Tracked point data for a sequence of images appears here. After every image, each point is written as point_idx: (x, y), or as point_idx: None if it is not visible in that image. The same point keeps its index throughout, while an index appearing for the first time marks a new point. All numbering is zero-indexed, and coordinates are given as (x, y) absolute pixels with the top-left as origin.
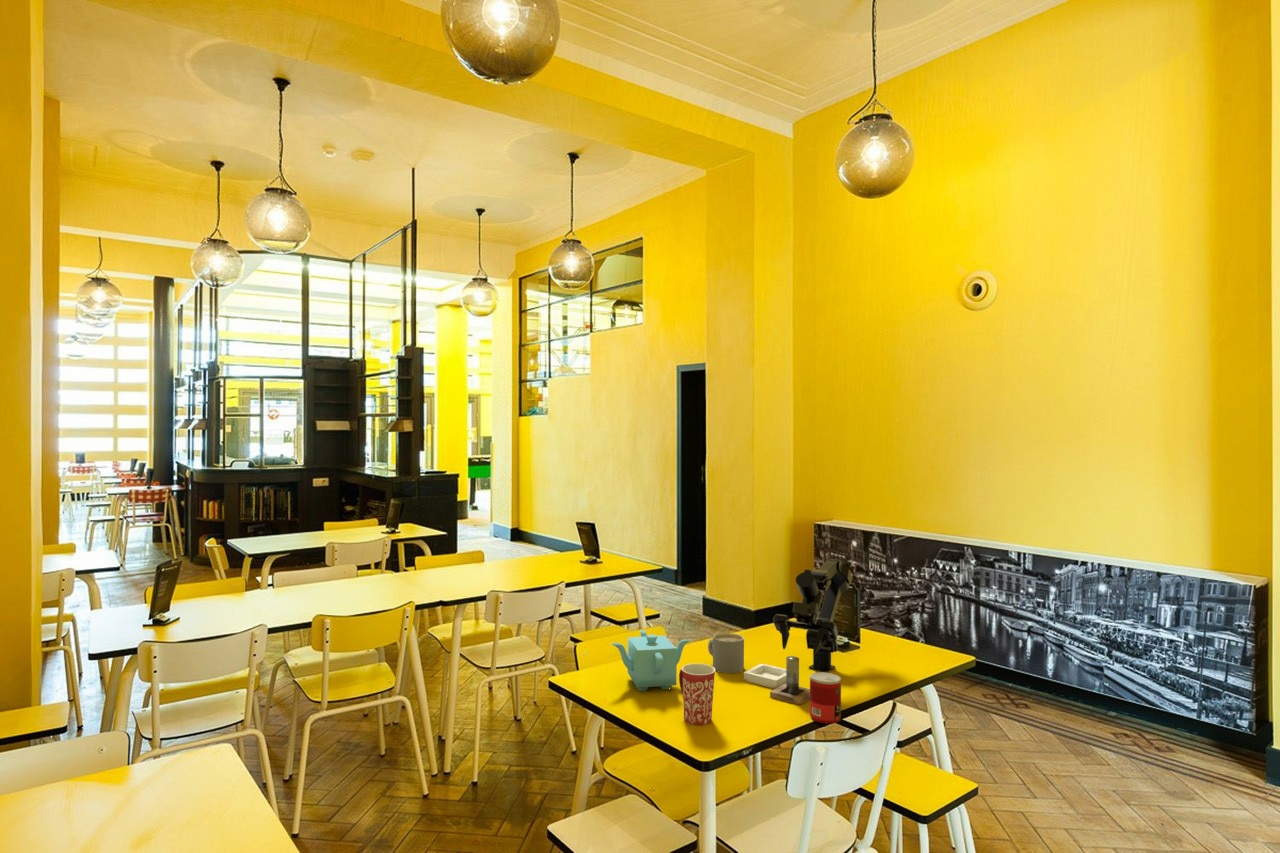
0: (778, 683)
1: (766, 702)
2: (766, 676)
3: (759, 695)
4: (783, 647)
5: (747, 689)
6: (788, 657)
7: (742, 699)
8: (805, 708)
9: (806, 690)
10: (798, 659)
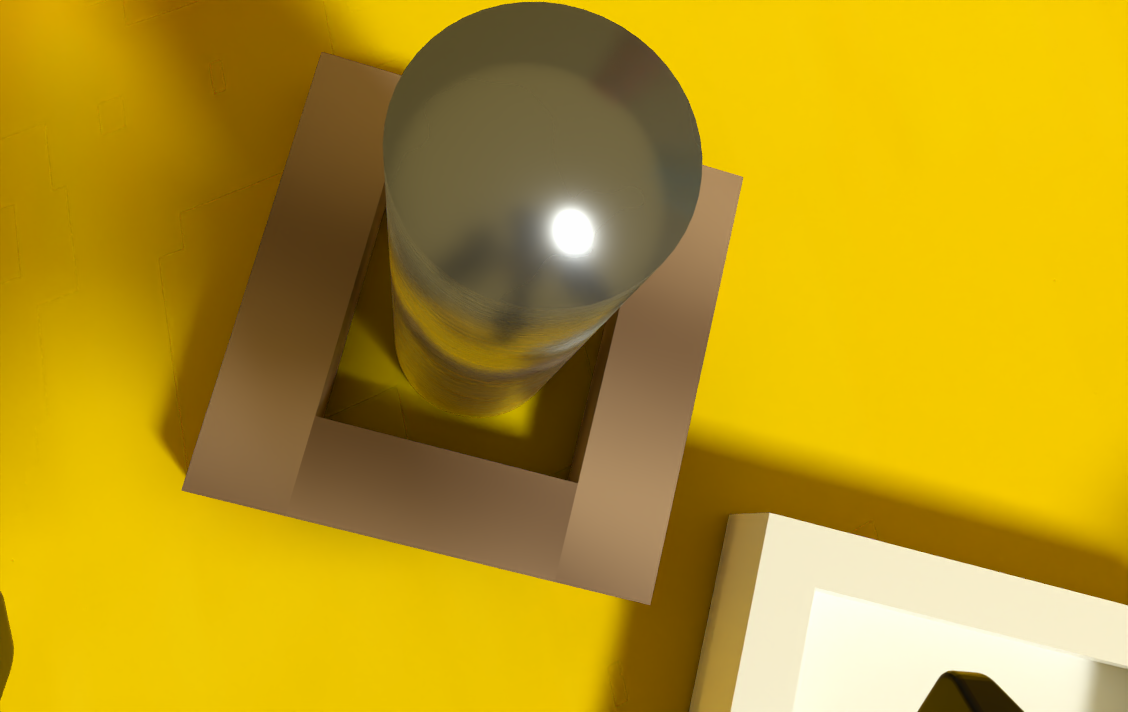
0: (737, 570)
1: (712, 24)
2: (946, 618)
3: (846, 205)
4: (965, 672)
5: (1029, 340)
6: (653, 158)
7: (967, 15)
8: (248, 5)
9: (301, 432)
10: (388, 113)
